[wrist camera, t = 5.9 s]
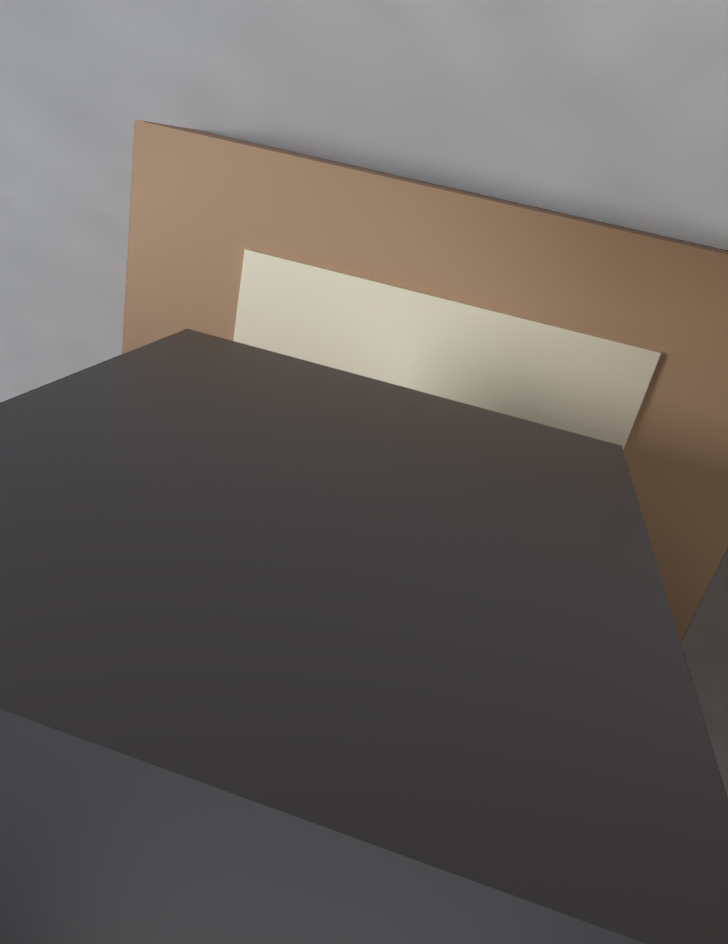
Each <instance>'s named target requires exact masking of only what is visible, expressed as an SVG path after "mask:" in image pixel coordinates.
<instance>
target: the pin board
mask: <svg viewBox="0 0 728 944" xmlns="http://www.w3.org/2000/svg"><path fill="white" fill-rule="evenodd" d="M185 329H191V330H194V331H198V332H202V333H206V334H209V335H213V336H217V337H220V338H224V339H228V340H232V341H235V342H239V343H243V344H246V345H250V346H254V347H258V348H261V349H265V350H269V351H272V352H276V353H280V354H283V355H287V356H291V357H295V358H298V359H302V360H306V361H309V362H313V363H317V364H321V365H324V366H328V367H332V368H335V369H339V370H343V371H347V372H350V373H354V374H358V375H361V376H365V377H369V378H373V379H376V380H380V381H384V382H387V383H391V384H395V385H398V386H402V387H406V388H410V389H413V390H417V391H421V392H424V393H428V394H432V395H436V396H439V397H443V398H447V399H450V400H454V401H458V402H462V403H465V404H469V405H473V406H476V407H480V408H484V409H487V410H491V411H495V412H499V413H502V414H506V415H510V416H513V417H517V418H521V419H525V420H528V421H532V422H536V423H539V424H543V425H547V426H551V427H554V428H558V429H562V430H565V431H569V432H573V433H577V434H580V435H584V436H588V437H591V438H595V439H599V440H602V441H606V442H610V443H614V444H617V445H621V446H622V449H623V452H624V455H625V459H626V462H627V465H628V469H629V472H630V475H631V479H632V482H633V485H634V489H635V492H636V495H637V499H638V502H639V505H640V509H641V512H642V516H643V519H644V522H645V526H646V529H647V532H648V536H649V539H650V542H651V546H652V549H653V552H654V556H655V559H656V562H657V566H658V569H659V572H660V576H661V579H662V582H663V586H664V589H665V592H666V596H667V599H668V602H669V606H670V609H671V612H672V616H673V619H674V622H675V626H676V629H677V632H678V636H679V639H680V642H682V640H683V638H684V636H685V634H686V632H687V630H688V628H689V626H690V624H691V622H692V620H693V618H694V616H695V614H696V611H697V609H698V607H699V605H700V603H701V601H702V599H703V597H704V595H705V593H706V591H707V589H708V587H709V585H710V583H711V581H712V579H713V577H714V575H715V573H716V571H717V569H718V567H719V565H720V563H721V561H722V559H723V557H724V555H725V553H726V551H727V548H728V251H726V250H722V249H717V248H713V247H709V246H704V245H700V244H695V243H691V242H687V241H682V240H678V239H673V238H669V237H665V236H660V235H656V234H651V233H647V232H643V231H638V230H634V229H629V228H625V227H620V226H616V225H612V224H607V223H603V222H598V221H594V220H590V219H585V218H581V217H576V216H572V215H568V214H563V213H559V212H554V211H550V210H546V209H541V208H537V207H532V206H528V205H524V204H519V203H515V202H510V201H506V200H501V199H497V198H493V197H488V196H484V195H479V194H475V193H471V192H466V191H462V190H457V189H453V188H449V187H444V186H440V185H435V184H431V183H427V182H422V181H418V180H413V179H409V178H405V177H400V176H396V175H391V174H387V173H382V172H378V171H374V170H369V169H365V168H360V167H356V166H352V165H347V164H343V163H338V162H334V161H330V160H325V159H321V158H316V157H312V156H308V155H303V154H299V153H294V152H290V151H285V150H281V149H277V148H272V147H268V146H263V145H259V144H255V143H250V142H246V141H241V140H237V139H233V138H228V137H224V136H219V135H215V134H211V133H206V132H202V131H197V130H193V129H189V128H182V127H176V126H170V125H164V124H158V123H152V122H145V121H139V120H135V130H134V148H133V166H132V184H131V202H130V220H129V239H128V257H127V275H126V293H125V311H124V329H123V347H122V354H124V353H127V352H129V351H132V350H134V349H137V348H139V347H142V346H144V345H147V344H149V343H152V342H154V341H157V340H159V339H162V338H165V337H167V336H170V335H172V334H175V333H177V332H180V331H182V330H185Z"/></svg>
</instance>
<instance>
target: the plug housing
mask: <svg viewBox="0 0 728 944" xmlns="http://www.w3.org/2000/svg"><path fill="white" fill-rule="evenodd" d="M0 944H728V799H727V796H726V793H725V789H724V786H723V783H722V779H721V776H720V773H719V769H718V766H717V763H716V759H715V756H714V753H713V749H712V746H711V743H710V739H709V736H708V733H707V729H706V726H705V722H704V719H703V716H702V712H701V709H700V706H699V702H698V699H697V696H696V692H695V689H694V686H693V682H692V679H691V676H690V672H689V669H688V666H687V662H686V659H685V656H684V652H683V649H682V646H681V642H680V639H679V636H678V632H677V629H676V626H675V622H674V619H673V616H672V612H671V609H670V606H669V602H668V599H667V596H666V592H665V589H664V586H663V582H662V579H661V576H660V572H659V569H658V566H657V562H656V559H655V556H654V552H653V549H652V546H651V542H650V539H649V536H648V532H647V529H646V526H645V522H644V519H643V516H642V512H641V509H640V505H639V502H638V499H637V495H636V492H635V489H634V485H633V482H632V479H631V475H630V472H629V469H628V465H627V462H626V459H625V455H624V452H623V449H622V446H621V445H617V444H614V443H610V442H606V441H602V440H599V439H595V438H591V437H588V436H584V435H580V434H577V433H573V432H569V431H565V430H562V429H558V428H554V427H551V426H547V425H543V424H539V423H536V422H532V421H528V420H525V419H521V418H517V417H513V416H510V415H506V414H502V413H499V412H495V411H491V410H487V409H484V408H480V407H476V406H473V405H469V404H465V403H462V402H458V401H454V400H450V399H447V398H443V397H439V396H436V395H432V394H428V393H424V392H421V391H417V390H413V389H410V388H406V387H402V386H398V385H395V384H391V383H387V382H384V381H380V380H376V379H373V378H369V377H365V376H361V375H358V374H354V373H350V372H347V371H343V370H339V369H335V368H332V367H328V366H324V365H321V364H317V363H313V362H309V361H306V360H302V359H298V358H295V357H291V356H287V355H283V354H280V353H276V352H272V351H269V350H265V349H261V348H258V347H254V346H250V345H246V344H243V343H239V342H235V341H232V340H228V339H224V338H220V337H217V336H213V335H209V334H206V333H202V332H198V331H194V330H191V329H185V330H182V331H180V332H177V333H175V334H172V335H170V336H167V337H165V338H162V339H159V340H157V341H154V342H152V343H149V344H147V345H144V346H142V347H139V348H137V349H134V350H132V351H129V352H127V353H124V354H122V355H119V356H117V357H114V358H112V359H109V360H107V361H104V362H102V363H99V364H97V365H94V366H92V367H89V368H87V369H84V370H82V371H79V372H77V373H74V374H72V375H69V376H67V377H64V378H62V379H59V380H56V381H54V382H51V383H49V384H46V385H44V386H41V387H39V388H36V389H34V390H31V391H29V392H26V393H24V394H21V395H19V396H16V397H14V398H11V399H9V400H6V401H4V402H1V403H0Z"/></svg>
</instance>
